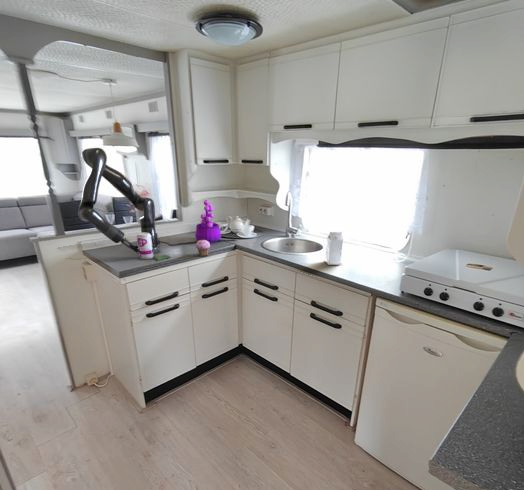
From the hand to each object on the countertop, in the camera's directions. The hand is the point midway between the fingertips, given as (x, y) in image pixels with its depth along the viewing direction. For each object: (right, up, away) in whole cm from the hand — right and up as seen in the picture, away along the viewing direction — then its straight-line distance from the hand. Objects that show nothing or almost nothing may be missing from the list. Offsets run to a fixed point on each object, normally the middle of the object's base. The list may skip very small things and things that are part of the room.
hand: (137, 251), depth 196 cm
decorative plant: (+36, +11, +42) cm, 56 cm away
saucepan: (-2, +2, +17) cm, 17 cm away
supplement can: (+4, -4, +4) cm, 7 cm away
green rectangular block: (+14, -4, +3) cm, 14 cm away
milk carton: (+118, -7, 0) cm, 118 cm away
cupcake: (+38, -2, +11) cm, 39 cm away
